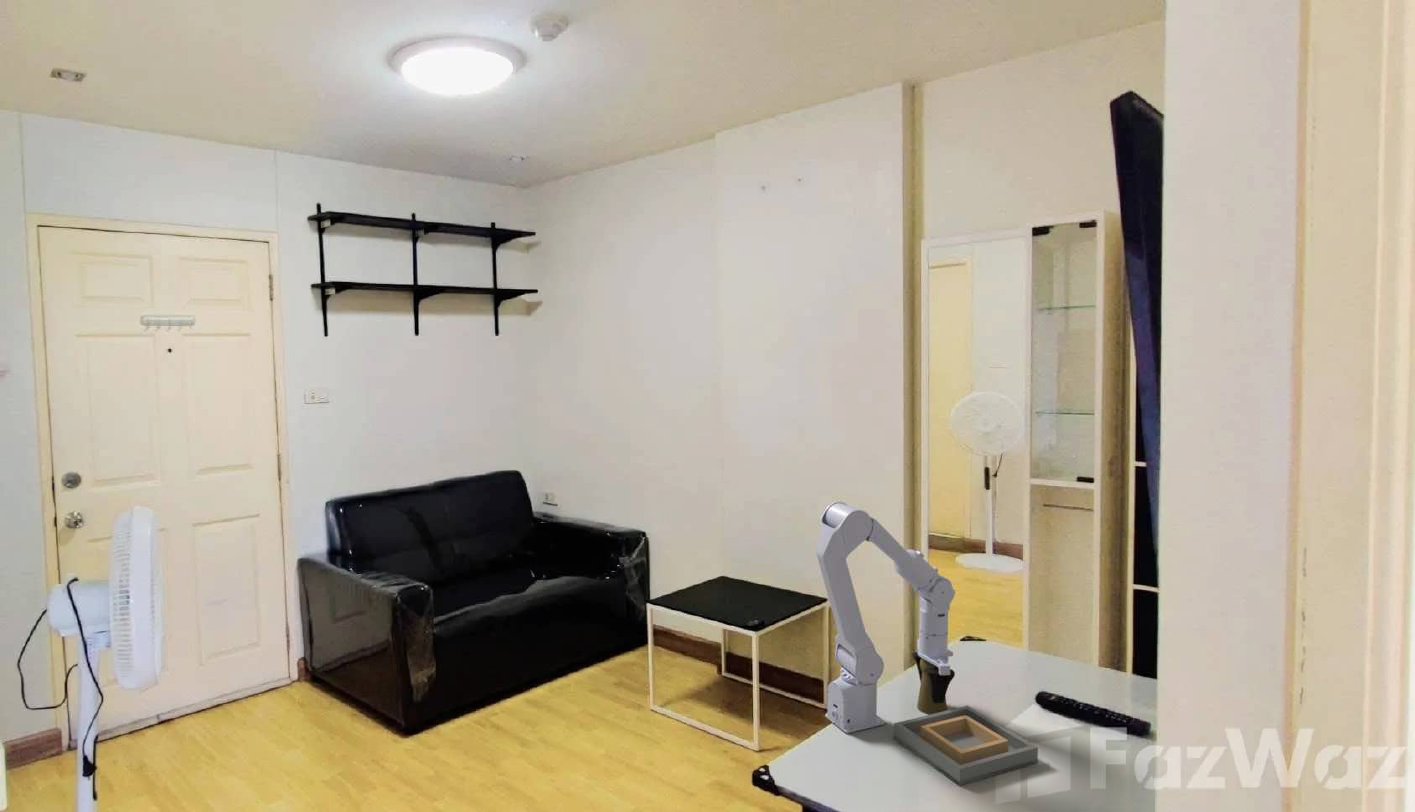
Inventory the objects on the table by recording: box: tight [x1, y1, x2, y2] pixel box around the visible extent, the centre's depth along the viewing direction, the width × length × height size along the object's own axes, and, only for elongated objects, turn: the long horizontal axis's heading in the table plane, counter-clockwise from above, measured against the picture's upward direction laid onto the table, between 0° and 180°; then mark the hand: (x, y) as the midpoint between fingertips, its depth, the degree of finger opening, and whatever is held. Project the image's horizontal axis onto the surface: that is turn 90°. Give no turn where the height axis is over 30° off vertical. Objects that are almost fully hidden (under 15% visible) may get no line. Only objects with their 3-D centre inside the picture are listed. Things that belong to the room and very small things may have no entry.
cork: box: [916, 658, 948, 715], centre depth 162 cm, size 6×6×11 cm
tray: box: [893, 705, 1039, 787], centre depth 145 cm, size 18×18×3 cm
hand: (932, 694), depth 162 cm, fingers open, 6 cm apart
